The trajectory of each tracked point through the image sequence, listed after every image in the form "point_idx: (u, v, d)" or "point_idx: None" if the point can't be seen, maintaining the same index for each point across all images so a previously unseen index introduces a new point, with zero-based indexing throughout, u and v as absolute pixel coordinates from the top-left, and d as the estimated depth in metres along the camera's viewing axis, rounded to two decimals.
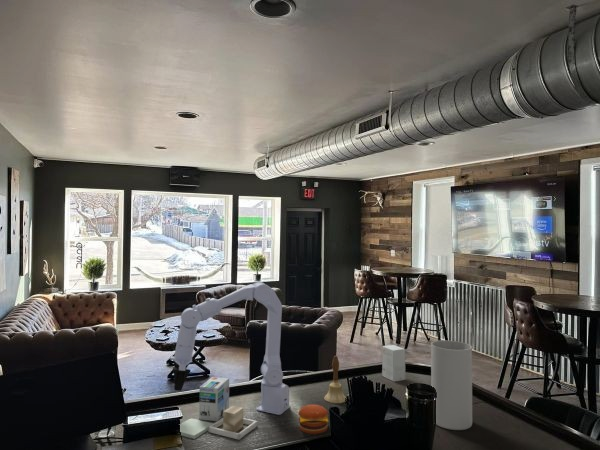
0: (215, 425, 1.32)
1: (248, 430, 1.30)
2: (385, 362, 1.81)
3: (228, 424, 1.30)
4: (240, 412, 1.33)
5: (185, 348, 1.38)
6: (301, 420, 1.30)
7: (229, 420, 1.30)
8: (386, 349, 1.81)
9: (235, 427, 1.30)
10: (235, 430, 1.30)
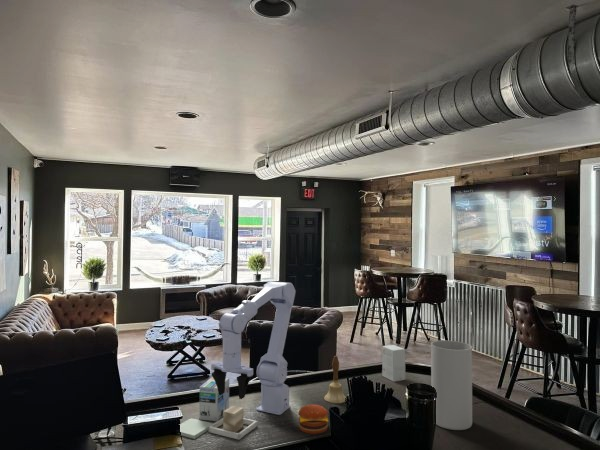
0: (215, 425, 1.32)
1: (248, 430, 1.30)
2: (385, 362, 1.81)
3: (228, 424, 1.30)
4: (240, 412, 1.33)
5: (239, 354, 1.31)
6: (301, 420, 1.30)
7: (229, 420, 1.30)
8: (386, 349, 1.80)
9: (235, 427, 1.30)
10: (235, 430, 1.30)
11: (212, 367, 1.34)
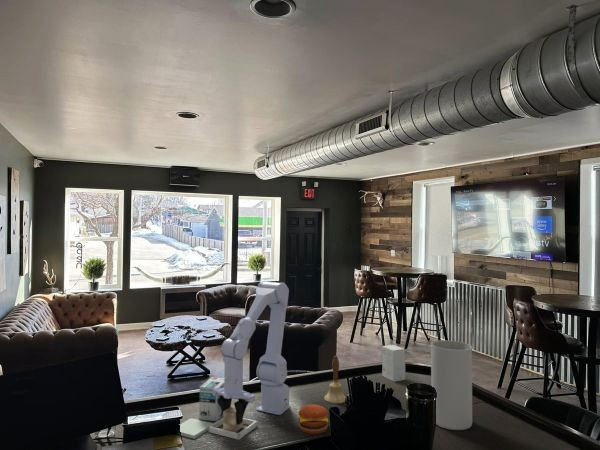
0: (215, 425, 1.32)
1: (248, 430, 1.30)
2: (385, 362, 1.81)
3: (228, 424, 1.30)
4: None
5: (241, 380, 1.32)
6: (301, 420, 1.30)
7: (229, 420, 1.30)
8: (386, 349, 1.80)
9: (235, 427, 1.30)
10: (235, 430, 1.30)
11: (214, 392, 1.34)
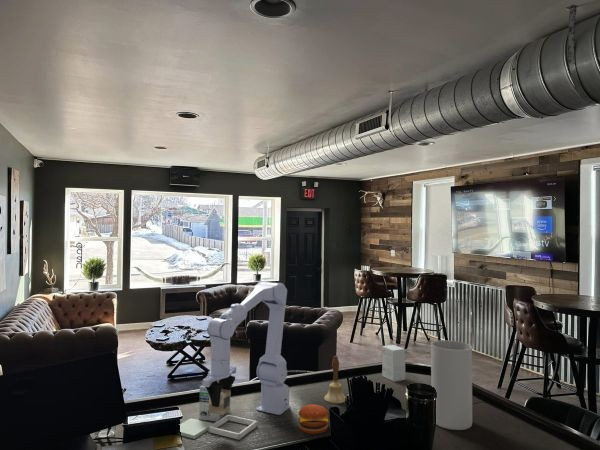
0: (215, 425, 1.32)
1: (248, 430, 1.30)
2: (385, 362, 1.81)
3: None
4: None
5: (215, 362, 1.26)
6: (301, 420, 1.30)
7: None
8: (386, 349, 1.81)
9: (210, 407, 1.27)
10: (211, 410, 1.27)
11: None
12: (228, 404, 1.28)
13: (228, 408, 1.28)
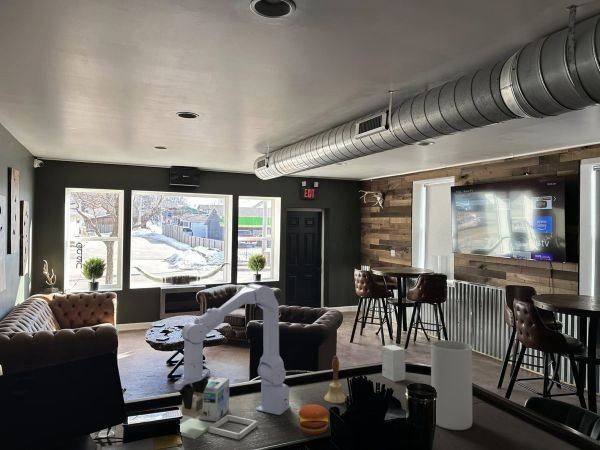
0: (215, 425, 1.32)
1: (248, 430, 1.30)
2: (385, 362, 1.81)
3: None
4: None
5: (187, 365, 1.30)
6: (301, 420, 1.30)
7: None
8: (386, 349, 1.81)
9: (183, 409, 1.31)
10: (184, 413, 1.31)
11: None
12: (201, 407, 1.31)
13: (201, 411, 1.31)
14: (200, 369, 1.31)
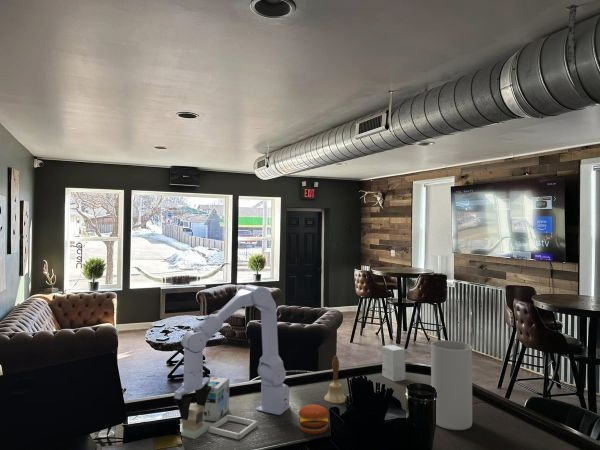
0: (215, 425, 1.32)
1: (248, 430, 1.30)
2: (385, 362, 1.81)
3: None
4: (191, 413, 1.29)
5: (187, 374, 1.29)
6: (301, 420, 1.30)
7: None
8: (386, 349, 1.81)
9: (183, 422, 1.31)
10: (184, 425, 1.31)
11: None
12: (201, 419, 1.31)
13: (201, 423, 1.31)
14: (200, 378, 1.31)
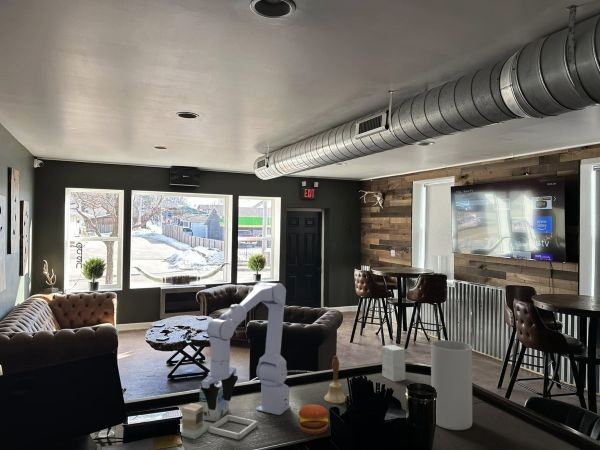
0: (215, 425, 1.32)
1: (248, 430, 1.30)
2: (385, 362, 1.81)
3: None
4: (191, 413, 1.29)
5: (214, 363, 1.25)
6: (301, 420, 1.30)
7: None
8: (386, 349, 1.81)
9: (183, 422, 1.31)
10: (184, 425, 1.31)
11: None
12: (201, 419, 1.31)
13: (201, 423, 1.31)
14: (227, 367, 1.27)
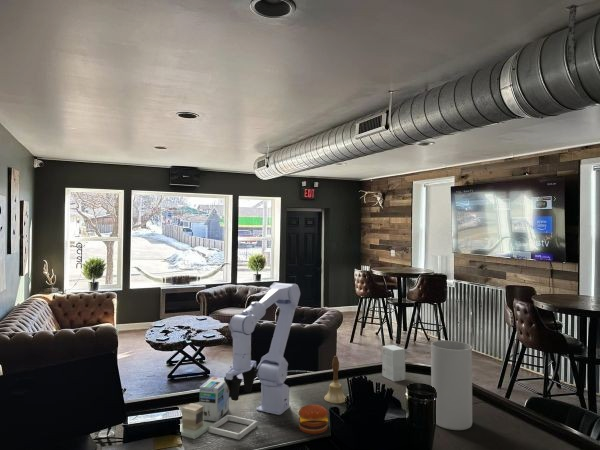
0: (215, 425, 1.32)
1: (248, 430, 1.30)
2: (385, 362, 1.81)
3: None
4: (191, 413, 1.29)
5: (237, 356, 1.33)
6: (301, 420, 1.30)
7: None
8: (386, 349, 1.81)
9: (183, 422, 1.31)
10: (184, 425, 1.31)
11: None
12: (201, 419, 1.31)
13: (201, 423, 1.31)
14: (249, 360, 1.34)
